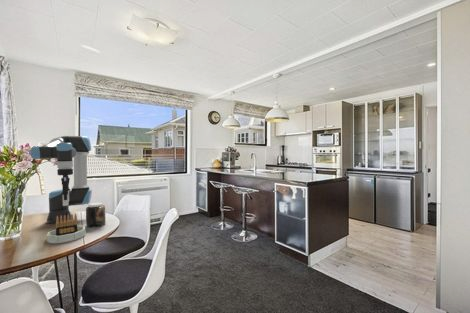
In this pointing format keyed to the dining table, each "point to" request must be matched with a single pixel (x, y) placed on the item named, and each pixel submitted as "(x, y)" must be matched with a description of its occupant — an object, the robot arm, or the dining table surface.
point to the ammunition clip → (66, 225)
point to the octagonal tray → (65, 236)
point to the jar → (95, 215)
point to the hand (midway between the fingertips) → (66, 203)
